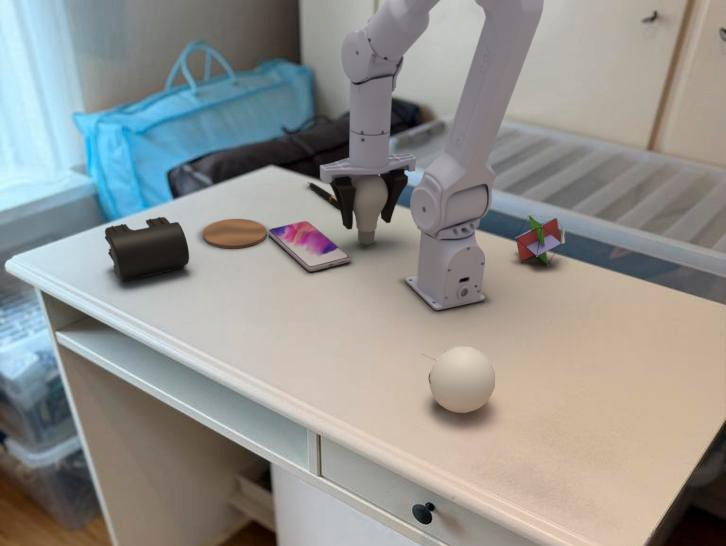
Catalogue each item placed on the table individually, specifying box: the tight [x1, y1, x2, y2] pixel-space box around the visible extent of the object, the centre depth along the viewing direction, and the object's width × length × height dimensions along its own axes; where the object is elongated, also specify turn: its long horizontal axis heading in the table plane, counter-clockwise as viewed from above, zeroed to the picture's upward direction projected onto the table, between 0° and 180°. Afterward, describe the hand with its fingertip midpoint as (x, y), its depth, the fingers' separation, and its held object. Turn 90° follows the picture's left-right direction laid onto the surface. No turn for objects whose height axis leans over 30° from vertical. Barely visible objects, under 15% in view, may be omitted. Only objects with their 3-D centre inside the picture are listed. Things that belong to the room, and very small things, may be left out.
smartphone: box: [267, 220, 351, 272], centre depth 111 cm, size 7×1×15 cm
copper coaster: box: [202, 218, 267, 249], centre depth 114 cm, size 10×10×1 cm
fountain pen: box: [307, 181, 340, 209], centre depth 125 cm, size 14×1×2 cm, turn 32°
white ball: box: [421, 345, 496, 414], centre depth 80 cm, size 10×7×7 cm
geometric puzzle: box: [515, 214, 566, 266], centre depth 108 cm, size 7×7×8 cm
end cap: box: [104, 216, 190, 282], centre depth 102 cm, size 10×7×7 cm
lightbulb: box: [350, 174, 388, 246], centre depth 109 cm, size 6×6×11 cm
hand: (366, 223), depth 110 cm, fingers closed on lightbulb, 6 cm apart
